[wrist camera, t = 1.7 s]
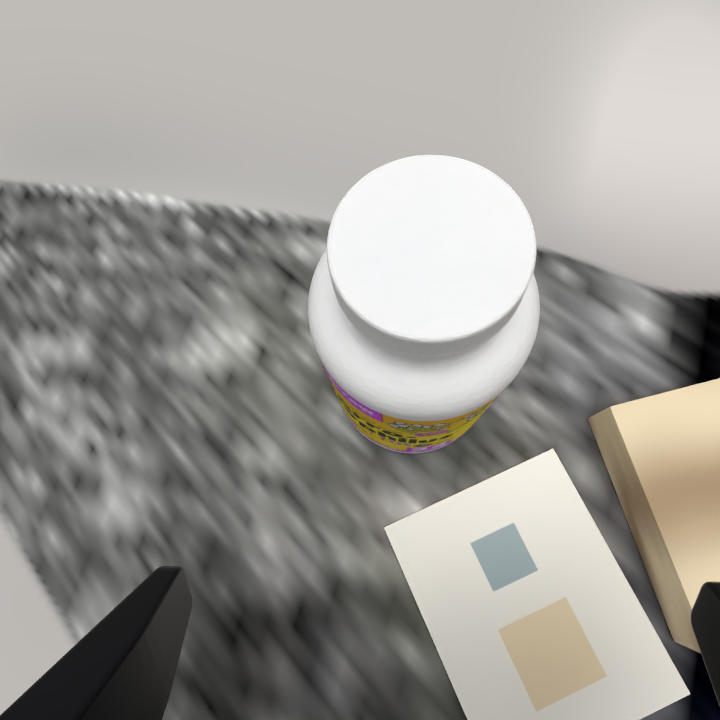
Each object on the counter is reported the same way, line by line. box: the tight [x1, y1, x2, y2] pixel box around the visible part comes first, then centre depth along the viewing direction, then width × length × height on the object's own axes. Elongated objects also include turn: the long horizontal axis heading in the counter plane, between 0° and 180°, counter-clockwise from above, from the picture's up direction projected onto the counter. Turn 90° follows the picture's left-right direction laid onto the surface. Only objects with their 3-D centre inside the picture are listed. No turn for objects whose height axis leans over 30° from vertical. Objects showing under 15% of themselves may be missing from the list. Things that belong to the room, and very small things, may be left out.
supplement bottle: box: [308, 155, 540, 453], centre depth 18 cm, size 7×7×13 cm
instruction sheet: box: [384, 449, 690, 720], centre depth 21 cm, size 10×8×1 cm
